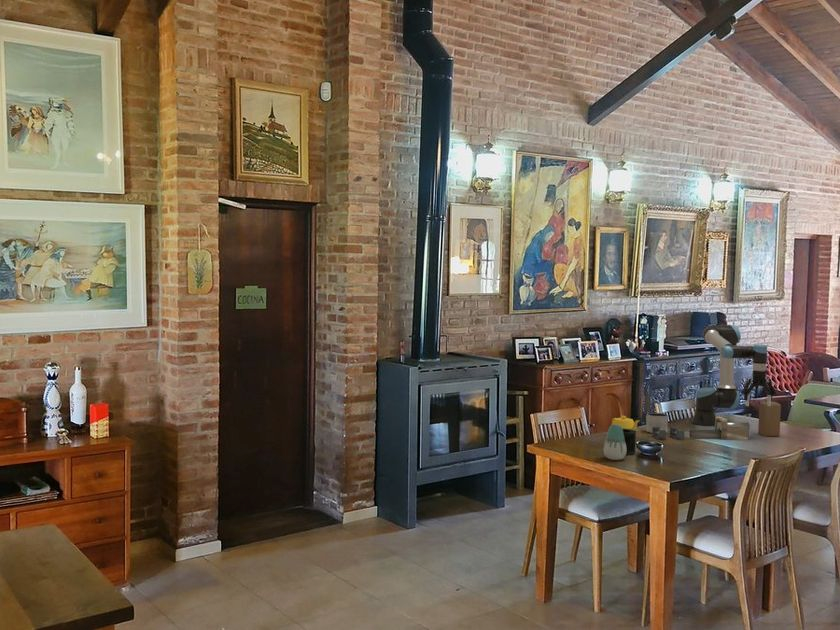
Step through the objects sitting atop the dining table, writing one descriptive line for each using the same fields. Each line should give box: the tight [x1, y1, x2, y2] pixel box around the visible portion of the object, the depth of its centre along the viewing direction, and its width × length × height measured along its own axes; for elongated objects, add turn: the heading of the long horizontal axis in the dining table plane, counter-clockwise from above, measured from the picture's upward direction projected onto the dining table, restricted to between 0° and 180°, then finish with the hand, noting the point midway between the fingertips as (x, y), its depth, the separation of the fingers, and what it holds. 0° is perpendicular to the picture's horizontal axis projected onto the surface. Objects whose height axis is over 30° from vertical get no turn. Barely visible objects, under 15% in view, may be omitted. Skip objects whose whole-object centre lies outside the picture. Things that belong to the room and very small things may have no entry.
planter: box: [645, 412, 669, 434], centre depth 493 cm, size 13×13×11 cm
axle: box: [717, 421, 751, 432], centre depth 480 cm, size 18×5×5 cm, turn 96°
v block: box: [651, 426, 685, 441], centre depth 476 cm, size 11×15×6 cm
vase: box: [603, 423, 627, 461], centre depth 417 cm, size 12×12×18 cm
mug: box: [623, 429, 638, 455], centre depth 434 cm, size 11×15×12 cm
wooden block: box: [757, 400, 782, 438], centre depth 492 cm, size 10×10×20 cm
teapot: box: [611, 415, 640, 431], centre depth 473 cm, size 14×20×13 cm
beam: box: [688, 416, 750, 441], centre depth 479 cm, size 9×35×12 cm, turn 96°
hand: (758, 406), depth 480 cm, fingers open, 13 cm apart
